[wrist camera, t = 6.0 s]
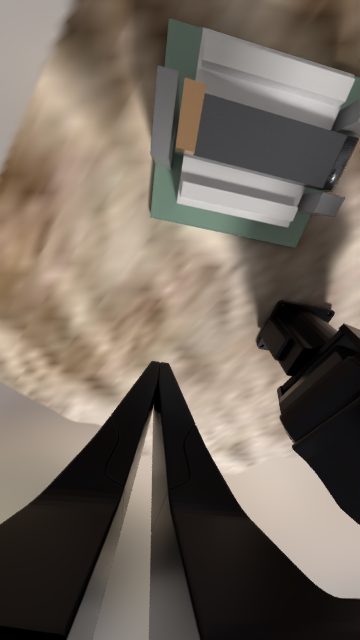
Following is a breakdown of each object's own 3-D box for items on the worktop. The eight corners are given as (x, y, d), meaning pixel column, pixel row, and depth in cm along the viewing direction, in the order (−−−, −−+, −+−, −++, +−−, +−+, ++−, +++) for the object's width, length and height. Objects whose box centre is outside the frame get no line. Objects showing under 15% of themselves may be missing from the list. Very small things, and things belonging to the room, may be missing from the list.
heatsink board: (364, 89, 13) (470, 22, 8) (290, 246, 18) (330, 261, 13) (169, 28, 11) (162, -91, 7) (151, 216, 16) (140, 222, 12)
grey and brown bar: (349, 144, 11) (374, 135, 10) (325, 192, 12) (345, 191, 11) (183, 95, 10) (184, 77, 9) (175, 154, 11) (175, 147, 10)
